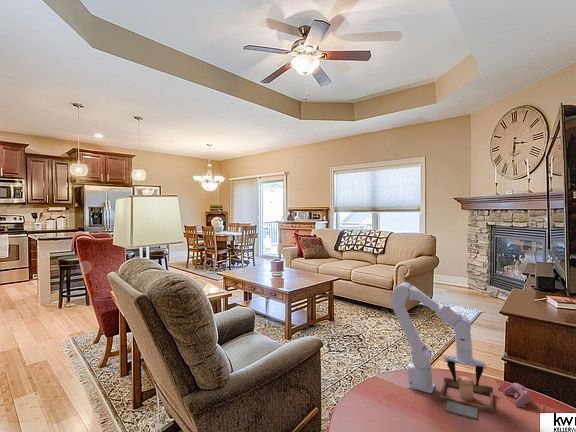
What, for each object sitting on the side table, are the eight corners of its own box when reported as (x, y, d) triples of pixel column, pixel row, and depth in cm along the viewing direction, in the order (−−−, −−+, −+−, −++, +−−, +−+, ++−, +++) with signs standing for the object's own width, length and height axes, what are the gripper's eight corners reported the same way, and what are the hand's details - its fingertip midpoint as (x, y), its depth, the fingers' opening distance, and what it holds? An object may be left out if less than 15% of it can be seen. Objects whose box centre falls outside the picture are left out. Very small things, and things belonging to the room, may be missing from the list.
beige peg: (458, 398, 121) (457, 380, 122) (459, 392, 126) (458, 375, 126) (474, 402, 118) (473, 384, 119) (474, 395, 123) (473, 378, 123)
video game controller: (527, 412, 114) (535, 395, 113) (514, 405, 115) (522, 389, 114) (513, 398, 123) (521, 382, 123) (501, 392, 124) (509, 376, 124)
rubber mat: (445, 411, 113) (445, 409, 113) (447, 402, 119) (447, 400, 119) (477, 420, 108) (477, 418, 108) (477, 409, 114) (477, 408, 114)
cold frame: (439, 400, 121) (439, 392, 121) (444, 383, 133) (443, 376, 133) (493, 413, 111) (492, 404, 111) (493, 394, 124) (492, 386, 124)
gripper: (442, 348, 124) (444, 383, 123) (485, 355, 116) (487, 392, 115) (444, 342, 130) (446, 375, 129) (485, 348, 122) (487, 384, 121)
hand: (466, 383), depth 122 cm, fingers open, 7 cm apart
